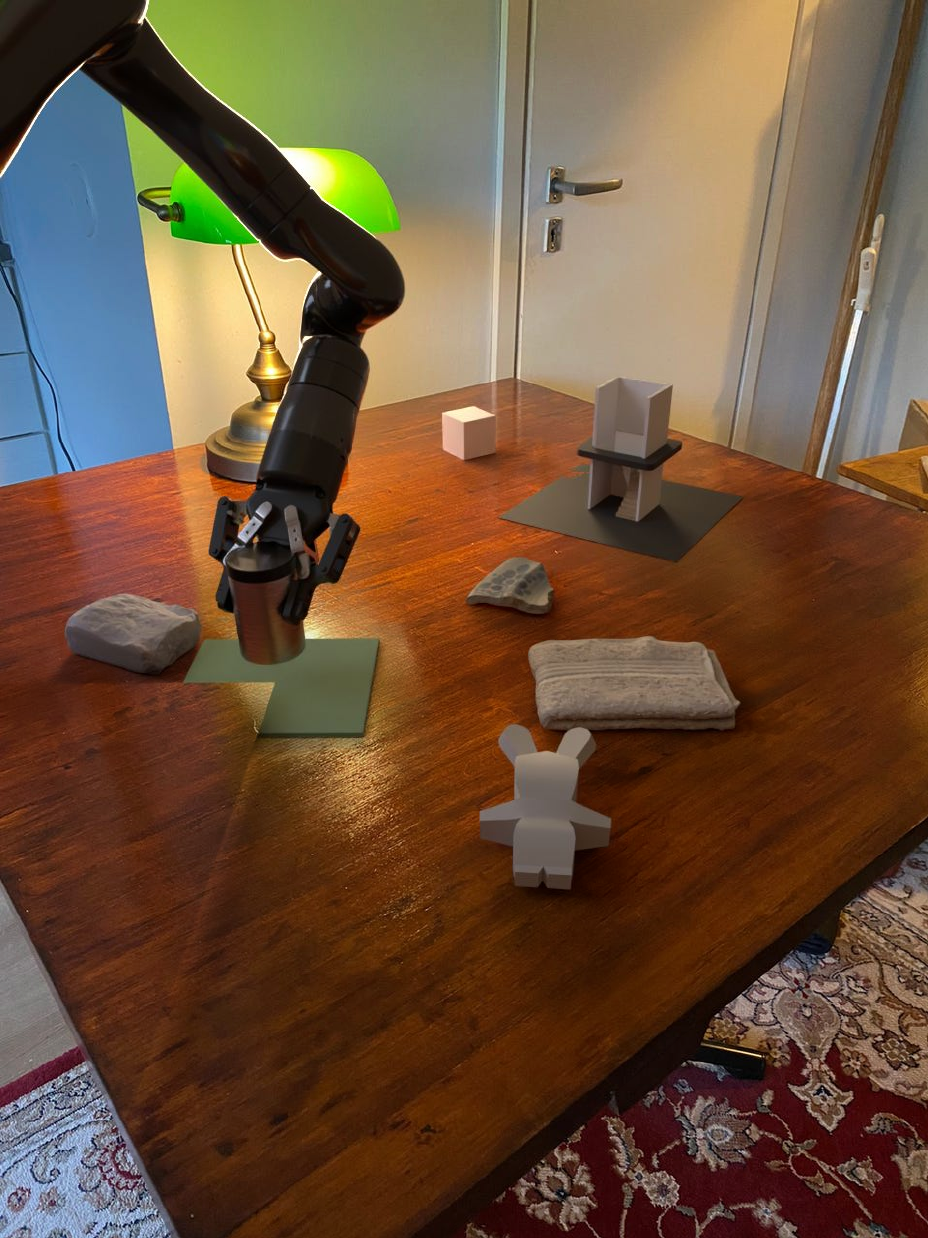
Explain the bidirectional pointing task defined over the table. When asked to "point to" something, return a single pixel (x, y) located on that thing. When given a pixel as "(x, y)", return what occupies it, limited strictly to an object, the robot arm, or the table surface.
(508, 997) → the table surface
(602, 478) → the box stand
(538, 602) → the ceramic fragment
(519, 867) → the bunny figurine
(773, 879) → the table surface
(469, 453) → the white cube
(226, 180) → the robot arm
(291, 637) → the thermos cup
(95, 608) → the stone block
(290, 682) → the mat
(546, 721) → the washcloth
